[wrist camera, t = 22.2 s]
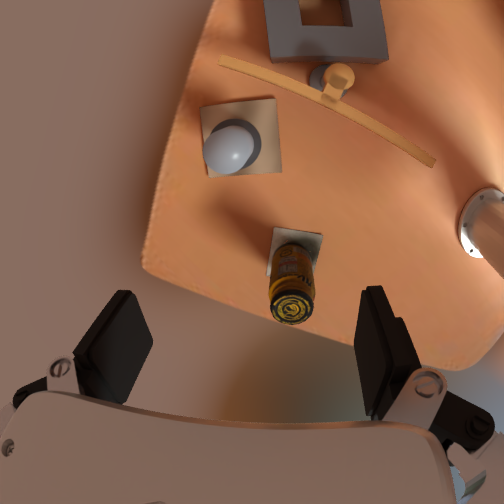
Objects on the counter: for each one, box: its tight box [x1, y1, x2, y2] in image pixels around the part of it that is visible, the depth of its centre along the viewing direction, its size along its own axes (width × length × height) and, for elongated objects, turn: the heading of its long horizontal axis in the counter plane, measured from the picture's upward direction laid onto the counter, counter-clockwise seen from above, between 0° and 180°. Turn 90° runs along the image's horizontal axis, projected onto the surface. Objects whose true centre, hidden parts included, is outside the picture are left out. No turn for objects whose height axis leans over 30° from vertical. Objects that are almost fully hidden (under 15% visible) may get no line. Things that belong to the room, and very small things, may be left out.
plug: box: [203, 118, 262, 174], centre depth 31 cm, size 6×6×11 cm
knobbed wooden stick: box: [217, 54, 436, 168], centre depth 26 cm, size 5×26×2 cm, turn 68°
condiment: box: [266, 227, 323, 325], centre depth 39 cm, size 7×8×12 cm
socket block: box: [263, 0, 389, 98], centre depth 25 cm, size 14×20×6 cm
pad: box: [199, 99, 282, 178], centre depth 36 cm, size 10×10×1 cm
